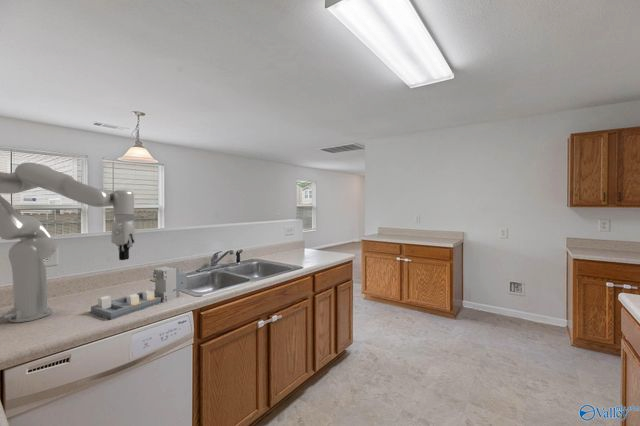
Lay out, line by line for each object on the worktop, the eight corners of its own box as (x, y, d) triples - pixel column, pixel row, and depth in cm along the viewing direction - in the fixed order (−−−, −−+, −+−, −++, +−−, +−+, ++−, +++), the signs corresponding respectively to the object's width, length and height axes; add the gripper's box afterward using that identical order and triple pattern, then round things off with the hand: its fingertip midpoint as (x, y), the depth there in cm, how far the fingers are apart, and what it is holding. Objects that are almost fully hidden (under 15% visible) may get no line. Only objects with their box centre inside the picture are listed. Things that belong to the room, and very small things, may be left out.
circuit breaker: (189, 293, 145) (189, 264, 144) (164, 302, 132) (163, 270, 131) (179, 291, 148) (179, 263, 147) (153, 300, 135) (153, 269, 134)
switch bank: (111, 319, 112) (110, 312, 112) (91, 312, 119) (90, 306, 119) (160, 302, 131) (160, 296, 131) (141, 297, 138) (141, 291, 138)
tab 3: (147, 302, 127) (146, 291, 127) (142, 301, 129) (142, 290, 128) (154, 300, 130) (154, 289, 130) (150, 299, 132) (150, 288, 132)
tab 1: (102, 309, 118) (101, 298, 118) (98, 308, 120) (97, 297, 119) (111, 307, 121) (111, 295, 121) (107, 306, 123) (107, 294, 123)
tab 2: (130, 307, 121) (130, 296, 121) (126, 306, 122) (126, 295, 122) (139, 305, 124) (139, 293, 124) (135, 303, 125) (134, 292, 125)
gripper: (104, 217, 124) (105, 259, 125) (124, 219, 117) (124, 263, 118) (123, 217, 131) (123, 256, 131) (142, 218, 124) (142, 259, 125)
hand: (124, 259), depth 125 cm, fingers closed
